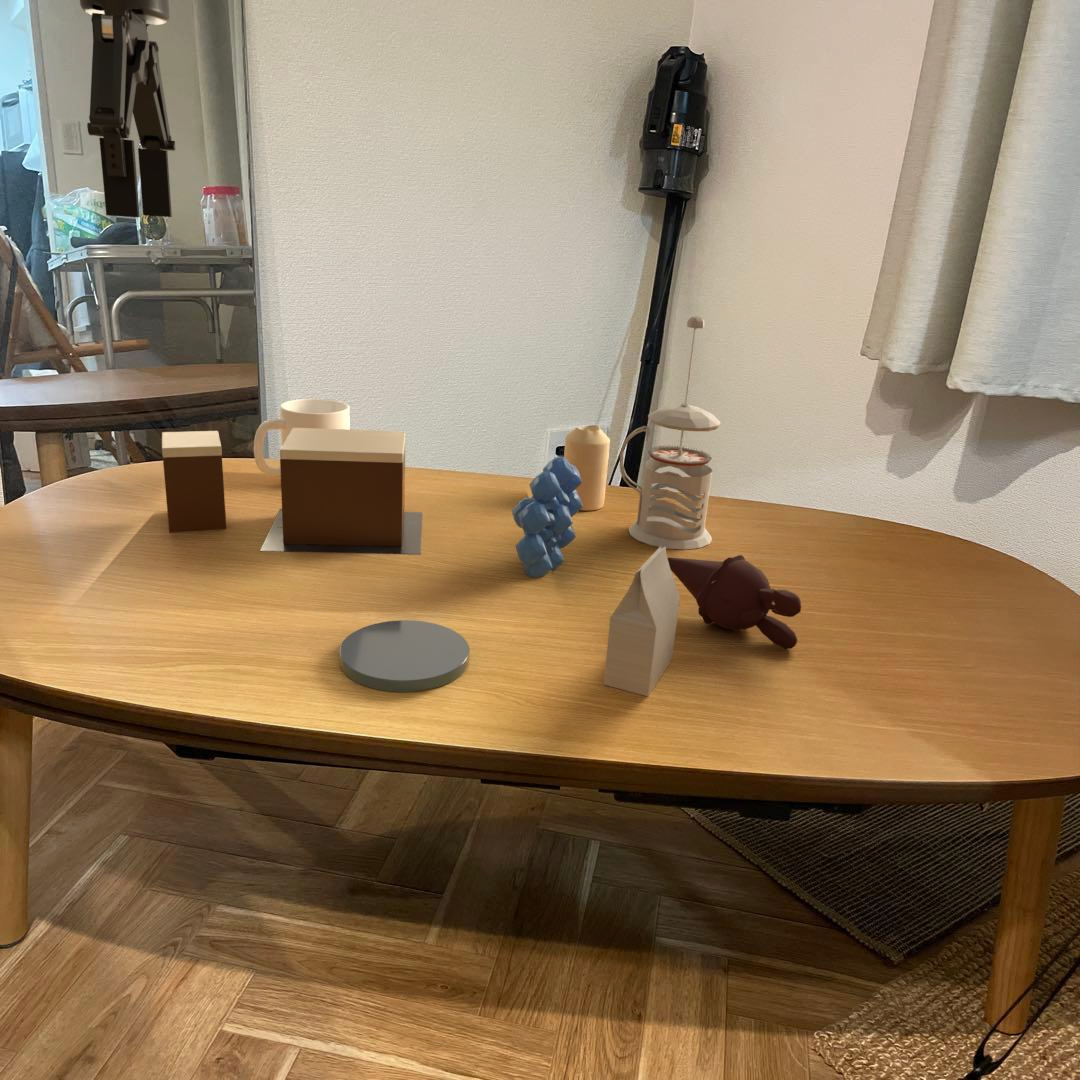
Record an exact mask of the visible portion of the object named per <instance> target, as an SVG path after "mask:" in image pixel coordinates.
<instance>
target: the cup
mask: <svg viewBox="0 0 1080 1080" xmlns="http://www.w3.org/2000/svg"><path fill="white" fill-rule="evenodd" d="M350 408H351V407H350V405H349V404H348V403H346V402H344V401H339V400H334V399H326V398H301V399H300V398H299V399H293V400H287V401H285V402H282V403H281V404H280V406H279V412H280V413H279V414H280V416H279V417H280V418H272V419H267V420H264V421H263V422H261V423H260V424H259V426H258V428H257V429H256V432H255V435H254V440H253V456H254V461H255V464H256V467H257V468H258V469H259V471H260V472H261V473H262V474H264V475H266V476H268V477H272V478H281V471H280V466H270V465H269V464H268V463H267V462H266V460H265V456H264V441H265V438H266V434H267V433H268V432H269V431H272V430H280V437H281V439H280V440H281V446H282V445H283V444H284V442H285V440H286V439H287V437H288V435H289V434H290V432H291V430H292V429H293V428H318V429H346V430H351V417H350V416H351V415H350Z"/></svg>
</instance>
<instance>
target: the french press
mask: <svg viewBox="0 0 1080 1080" xmlns="http://www.w3.org/2000/svg"><path fill="white" fill-rule="evenodd" d="M686 328H690V329H693V335H692V343H691V349H690V350H691V351H690V359H689V368H688V376H687V385H686V392H685V400H684V403H681V404H670V405H666V406H662V407H660V408H658V409H656V410H654V411H652V412H651V413H649V414H648V415H647V417H648V419H649V421H650V423H651V424H653V425H655V426H658V427H662V428H666V429H671V430H678V431H681V434H680V442H679V445H677V446H676V445H670V444H669V445H658V446H653V447H651V448H650V449H649V450H647V453H648V455H649V457H650V458H651V459H647V460H646V462H645V463H644V468H643V477H642V486H641V485H639V484H638V483H636V482H635V481H633V479H631V478H630V476H629V475H628V474H627V473H626V469H625V466H624V451H625V448H626V446H627V444H628V443H629V441H630V440H632V438H634V437H635V436H636V435H638V434H640V433H642V432H643V433H644V432H645V441H646V442H648V441H649V440H650V431H651V428H650V427H649V426H646V425H643V426H640V427H638V428H635V429H634V430H633V431H632V432H631V433H629V434H628V435H627V437H626V438H625V440H624V441H623V444H622V446H621V450H620V452H619V471H620V474H621V477H622V480H623V481H624V482H625V483H626V484H627V485H628V486H629V487H630V488H632V489H633V490H634V491H635V492H637V493H638V495H639V498H638V508H637V509H638V510H637V520H636V521H635V522H634V523H632V524H631V525H630V526H629V528H628V529H627V530H628V532H629V535H630V536H631V537H632V538H634V539H635V540H637V541H638V542H640V543H644V544H647V545H649V546H653V547H658V548H659V547H660V546H661V548H663V547H665V546H666V549H667V550H669V549H670V550H693V549H700V548H703V547H706V546H709V545H710V544H711V542H712V541H713V538H712V536H711V534H710V532H709V531H708V530H707V529H706V521H707V514H708V507H709V499H710V491H711V484H712V476H713V469H712V467H710V466H709V465H707V464H709V463H710V462H711V460H712V459H713V457H712V456H711V455H710V454H709V453H708V452H706V451H704V450H702V449H697V448H695V447H694V448H693V447H687V446H683V441H684V440H683V439H684V432H685V431H686V432H712V431H716V430H717V429H719V427H720V426H721V421H720V420H719V419H718V418H717V417H716V416H715V415H714V414H713V413H711V412H709V411H707V410H706V409H703V408H701V407H698V406H695V405H691V404H690V403H688V399H689V390H690V381H691V374H692V365H693V356H694V349H695V340H696V333H697V332H696V331H697V329H705V320H704V319H703V317H700V316H691V317H690V318H689V319H688V320H687V322H686ZM667 467H672V468H675V469H678V470H680V471H682V472H683V473H684V474H686V475H687V476H682V475H681V474H679V473H677V472H674V471H664V472H657V471H658V470H660V469H663V468H667ZM632 484H633V485H632ZM666 488H670V489H673V490H676V491H678V492H679V493H678V492H675V491H672V490H670V489H666ZM681 494H682V495H681ZM684 496H685V497H684ZM700 496H702V497H700ZM664 498H668V499H672V500H675V501H676V502H678V503H679V504H681V505H682V506H683V507H682V506H679V505H678V504H677V503H674V502H671V501H668V500H665V499H664ZM684 507H685V508H684ZM700 507H701V508H700Z"/></svg>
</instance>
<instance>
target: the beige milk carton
mask: <svg viewBox="0 0 1080 1080" xmlns="http://www.w3.org/2000/svg"><path fill="white" fill-rule="evenodd" d="M667 557H668V555H667V548H666V546H665V547H661V546H660V547H658V548H657V549H656V550H655V552H654V553H653V554H652V555H651V556H650V557H649V558H648V559H647V560H646V561H645V562H644V563H643V564H642V565H641V566H640V568H639V569H637V571H636V572H635V574H634V577H633V579H632V582H631V584H630V586H629V587H628V590H627V591H626V594H625V595H624V596H623V597H622V599H621V601H620V602H619V604H618V605H617V607H616V608H615V610H614V611H613V612H612V613H611V616H610V617H609V630H608V638H607V647H606V648H607V649H606V658H605V667H604V675H603V676H604V677H603V685H604V686H606V687H607V686H608V687H611V688H616V689H619V690H623V691H626V692H629V693H634V694H637V695H641V696H645V697H649V696H650V694H651V693H652V692H653V690H654V688H655V687H656V685H657V684H658V682H659V681H660V679H661V678H662V676H663V675H664V673H665V672H666V670H667V669H668V667H669V665H670V664H671V662H672V661H673V653H674V648H675V641H676V639H675V638H676V632H677V626H678V625H677V624H678V617H679V607H680V603H681V595H680V591H679V589H678V586H677V584H676V581H675V578H674V575H673V572H672V571H671V569H670V566H669V562H668V558H667Z"/></svg>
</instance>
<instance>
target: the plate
mask: <svg viewBox="0 0 1080 1080" xmlns="http://www.w3.org/2000/svg"><path fill="white" fill-rule="evenodd" d="M338 654H339V655H338V656H339V667H340V668H341V670H342V672H343V673H344V675H346V676H347V677H348V678H349V679H350V680H352V681H353V682H355V683H357V684H359V685H361V686H364V687H367V688H370V689H374V690H379V691H383V692H391V693H392V692H394V693H411V692H422V691H427V690H432V689H436V688H440V687H442V686H446V685H448V684H449V683H452V682H454V681H455V680H457V679H458V678H460V677H461V676H462V675H463V674H464V673H465V672H466V670H467V669H468V666H469V664H470V645H469V643H468V642H467V640H466V639H465V637H464V636H462V635H461V634H460V633H458V632H457V631H455V630H453V629H451V628H449V627H447V626H444V625H441V624H438V623H434V622H429V621H423V620H412V619H411V620H410V619H408V620H406V619H405V620H401V619H400V620H389V621H383V622H378V623H373V624H370V625H366V626H364V627H361V628H359V629H357V630H354V631H353V632H351V633H350V634H349V635H347V636H346V637H345V638H344V639H343V640H342V642H341V644H340V646H339V653H338Z"/></svg>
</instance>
